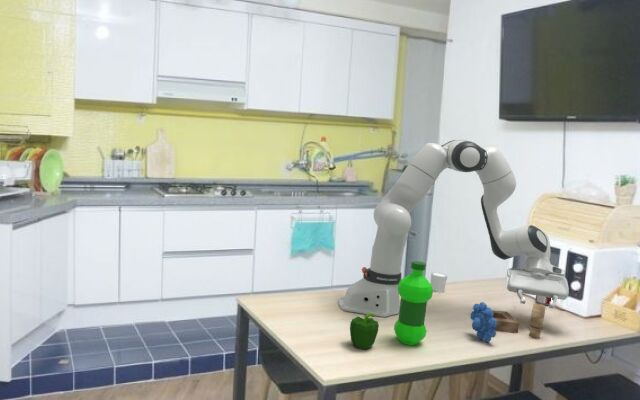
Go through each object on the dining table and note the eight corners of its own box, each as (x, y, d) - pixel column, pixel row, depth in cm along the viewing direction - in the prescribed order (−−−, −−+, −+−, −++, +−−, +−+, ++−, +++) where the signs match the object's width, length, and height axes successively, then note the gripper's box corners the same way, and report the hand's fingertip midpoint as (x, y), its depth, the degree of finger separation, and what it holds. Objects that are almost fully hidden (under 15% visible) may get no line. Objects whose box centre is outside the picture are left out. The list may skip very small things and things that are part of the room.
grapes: (458, 333, 181) (463, 298, 180) (474, 332, 184) (479, 297, 183) (482, 347, 171) (488, 310, 169) (499, 345, 174) (504, 309, 172)
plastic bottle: (421, 336, 174) (431, 260, 171) (428, 349, 164) (439, 268, 161) (389, 333, 174) (399, 257, 171) (395, 346, 163) (405, 265, 160)
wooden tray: (483, 329, 187) (484, 319, 187) (473, 317, 199) (474, 308, 199) (517, 332, 188) (519, 323, 187) (505, 320, 200) (507, 311, 199)
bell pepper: (348, 350, 157) (352, 316, 156) (347, 339, 166) (351, 307, 164) (377, 353, 157) (381, 319, 156) (374, 342, 166) (378, 310, 164)
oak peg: (530, 338, 184) (535, 306, 182) (526, 333, 188) (530, 302, 186) (543, 339, 184) (548, 307, 182) (538, 334, 188) (542, 304, 187)
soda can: (544, 306, 223) (549, 278, 222) (531, 301, 229) (535, 273, 228) (555, 305, 227) (560, 277, 225) (542, 300, 233) (547, 273, 231)
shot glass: (447, 291, 232) (449, 275, 231) (442, 294, 226) (444, 277, 225) (432, 287, 236) (434, 271, 235) (426, 290, 230) (428, 274, 229)
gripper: (508, 262, 197) (507, 295, 189) (569, 271, 192) (570, 305, 184) (506, 271, 202) (504, 304, 194) (565, 280, 197) (566, 314, 189)
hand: (537, 305), depth 189 cm, fingers open, 8 cm apart
